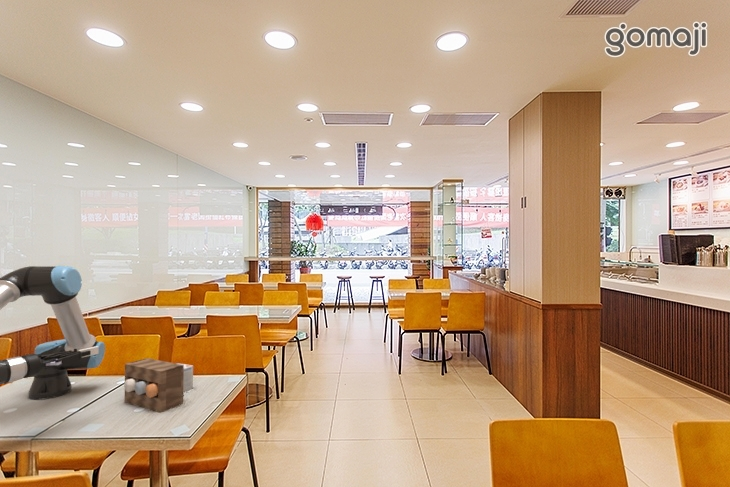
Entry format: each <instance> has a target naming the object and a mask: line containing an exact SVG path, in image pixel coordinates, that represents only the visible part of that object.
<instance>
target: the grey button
mask: <svg viewBox="0 0 730 487" xmlns="http://www.w3.org/2000/svg"><path fill="white" fill-rule="evenodd" d="M153 383H154V382H153ZM146 386H147V381H145V380H143V381H140V382H137V383H136V384H135V392H136V393H137V394H138V395H140V394H143V393H146V392H145V389H146Z"/></svg>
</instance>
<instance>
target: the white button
mask: <svg viewBox="0 0 730 487" xmlns="http://www.w3.org/2000/svg"><path fill="white" fill-rule="evenodd" d="M136 379H137V378H132V379H128V380H126V381H125V380H124V384H123V387H124V391H125V390H126V391H127V392H130V391H134V390H135V384H136Z"/></svg>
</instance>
